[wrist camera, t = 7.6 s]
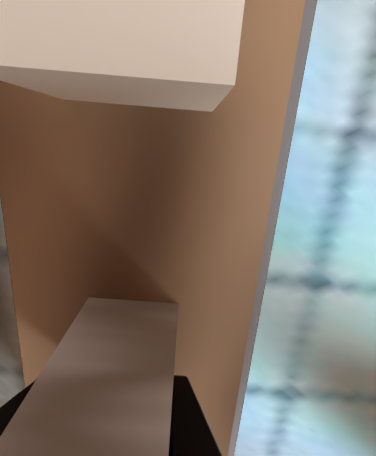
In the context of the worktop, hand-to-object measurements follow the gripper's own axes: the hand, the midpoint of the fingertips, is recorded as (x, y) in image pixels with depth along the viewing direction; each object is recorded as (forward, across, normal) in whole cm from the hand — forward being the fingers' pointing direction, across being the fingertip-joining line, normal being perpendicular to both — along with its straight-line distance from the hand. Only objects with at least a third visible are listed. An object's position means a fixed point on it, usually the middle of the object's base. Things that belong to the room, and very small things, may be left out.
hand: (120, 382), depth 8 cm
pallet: (+5, 0, 0) cm, 5 cm away
